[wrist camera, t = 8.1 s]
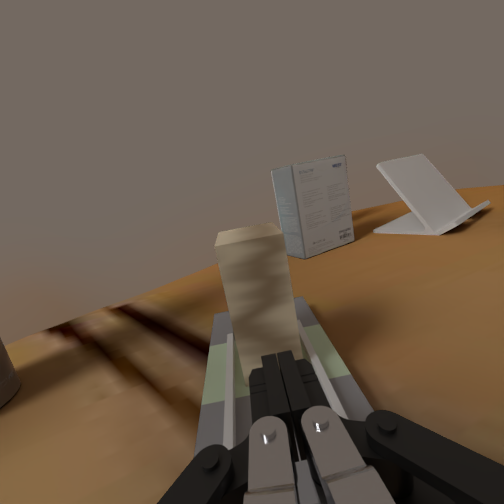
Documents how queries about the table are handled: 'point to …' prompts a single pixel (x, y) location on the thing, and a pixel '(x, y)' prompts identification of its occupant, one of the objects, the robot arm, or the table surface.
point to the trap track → (238, 395)
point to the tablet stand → (424, 198)
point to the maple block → (258, 293)
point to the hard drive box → (314, 206)
